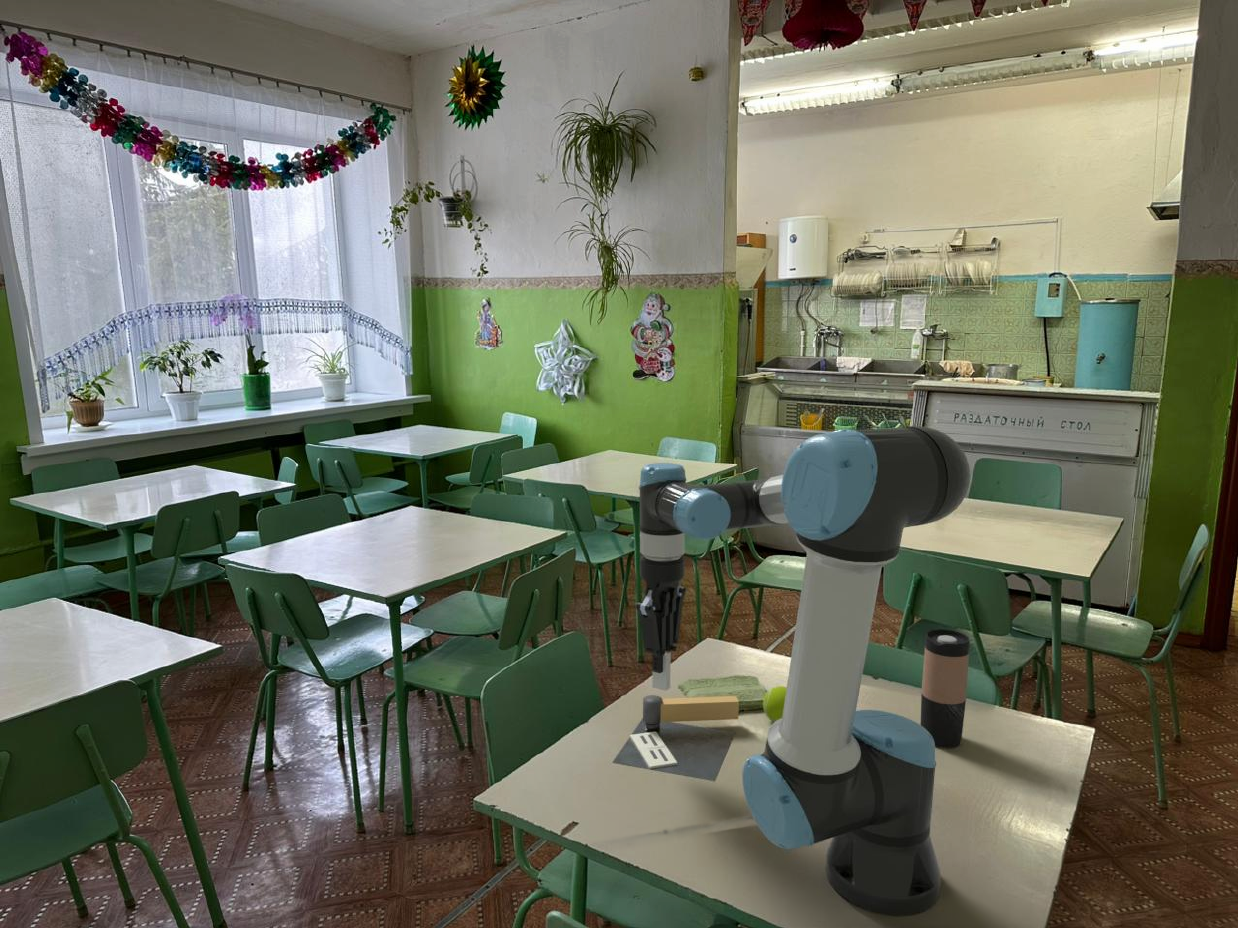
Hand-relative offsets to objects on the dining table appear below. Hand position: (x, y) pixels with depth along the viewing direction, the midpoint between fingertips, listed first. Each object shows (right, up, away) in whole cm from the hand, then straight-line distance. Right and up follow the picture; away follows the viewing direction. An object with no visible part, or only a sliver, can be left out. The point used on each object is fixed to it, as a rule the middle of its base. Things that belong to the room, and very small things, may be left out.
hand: (661, 687), depth 144 cm
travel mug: (+52, -13, +11) cm, 55 cm away
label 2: (-1, -13, +1) cm, 13 cm away
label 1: (-2, -12, +7) cm, 14 cm away
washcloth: (+15, -10, +27) cm, 33 cm away
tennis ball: (+24, -11, +17) cm, 32 cm away
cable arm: (+6, -9, +12) cm, 16 cm away
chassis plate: (+3, -13, +5) cm, 15 cm away
